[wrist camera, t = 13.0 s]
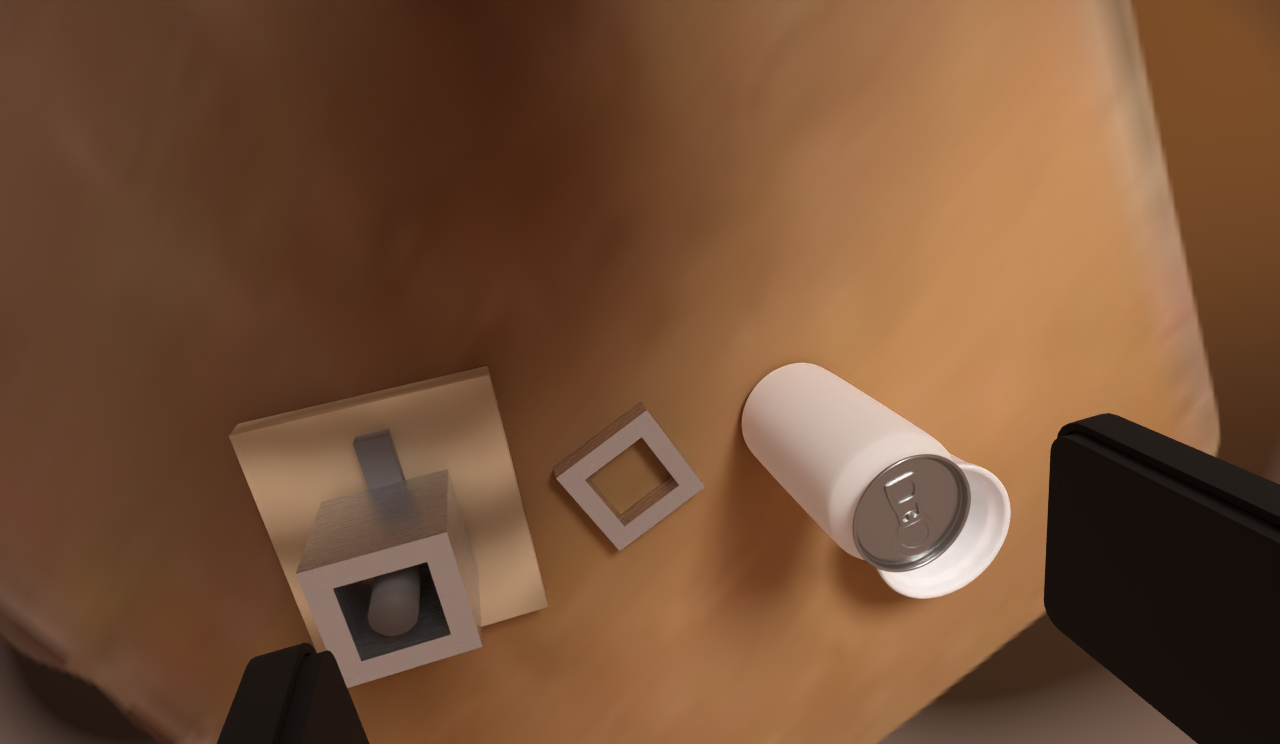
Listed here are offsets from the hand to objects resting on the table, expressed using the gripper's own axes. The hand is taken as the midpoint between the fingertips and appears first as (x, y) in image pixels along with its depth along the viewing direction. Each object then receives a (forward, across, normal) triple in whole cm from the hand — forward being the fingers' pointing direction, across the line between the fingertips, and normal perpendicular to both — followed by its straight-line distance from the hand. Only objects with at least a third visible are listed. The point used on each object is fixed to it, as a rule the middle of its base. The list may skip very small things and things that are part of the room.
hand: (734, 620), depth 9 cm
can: (+28, -13, +12) cm, 34 cm away
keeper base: (+28, +9, +12) cm, 32 cm away
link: (+26, +9, +12) cm, 30 cm away
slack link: (+28, -3, +13) cm, 31 cm away
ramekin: (+29, -20, +20) cm, 40 cm away
